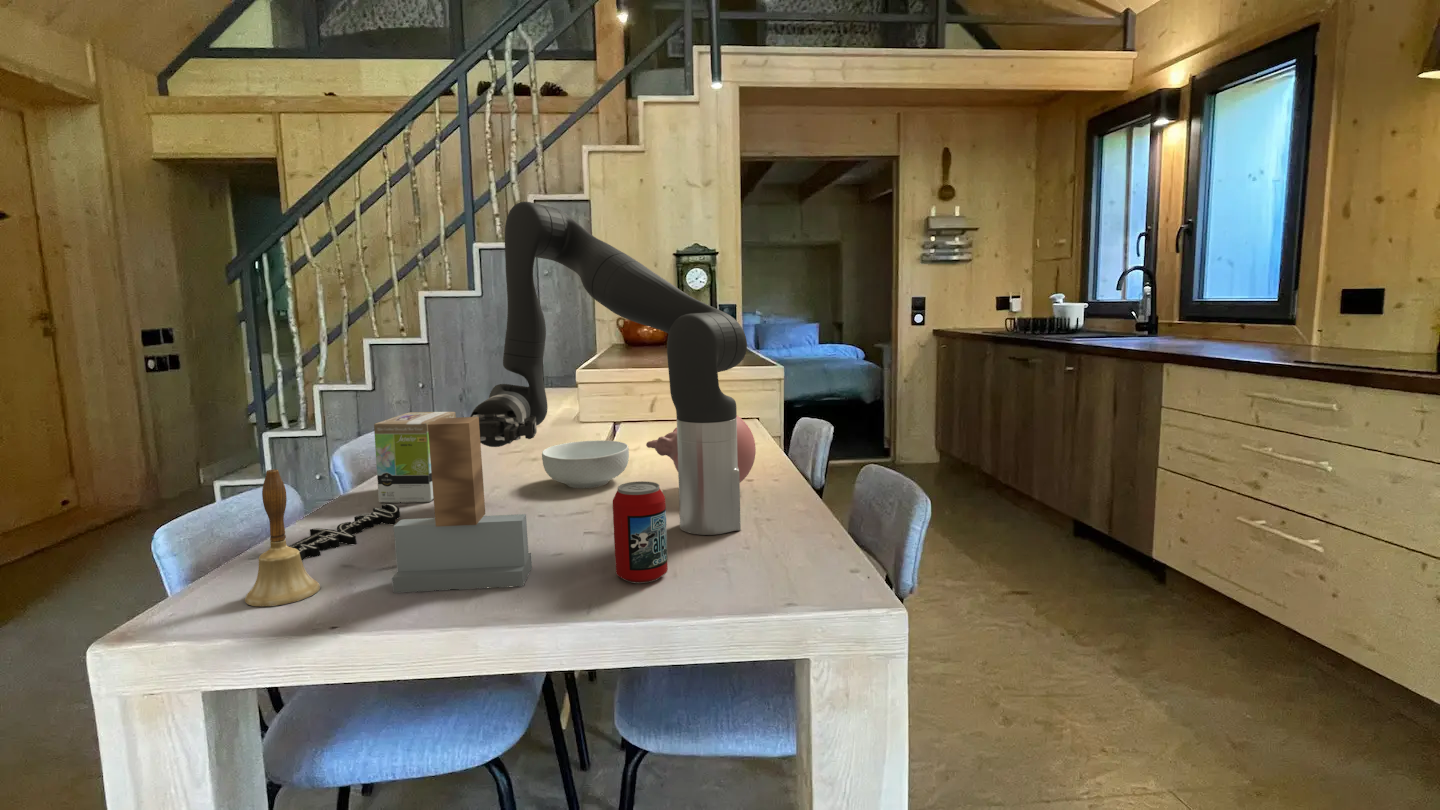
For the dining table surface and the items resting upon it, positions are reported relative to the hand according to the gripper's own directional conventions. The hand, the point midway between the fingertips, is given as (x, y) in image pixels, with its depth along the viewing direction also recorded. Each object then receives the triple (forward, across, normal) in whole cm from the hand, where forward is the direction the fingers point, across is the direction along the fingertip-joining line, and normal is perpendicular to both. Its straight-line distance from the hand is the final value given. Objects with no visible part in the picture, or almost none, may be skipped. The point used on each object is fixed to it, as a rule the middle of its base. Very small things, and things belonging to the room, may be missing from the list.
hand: (476, 437), depth 109 cm
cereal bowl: (-39, +11, +17) cm, 44 cm away
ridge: (+11, 0, +17) cm, 20 cm away
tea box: (-37, -20, +17) cm, 46 cm away
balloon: (-29, +33, +17) cm, 47 cm away
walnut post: (+11, 0, +9) cm, 14 cm away
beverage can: (+13, +23, +17) cm, 31 cm away
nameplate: (-12, -24, +17) cm, 32 cm away
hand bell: (+13, -22, +17) cm, 31 cm away
